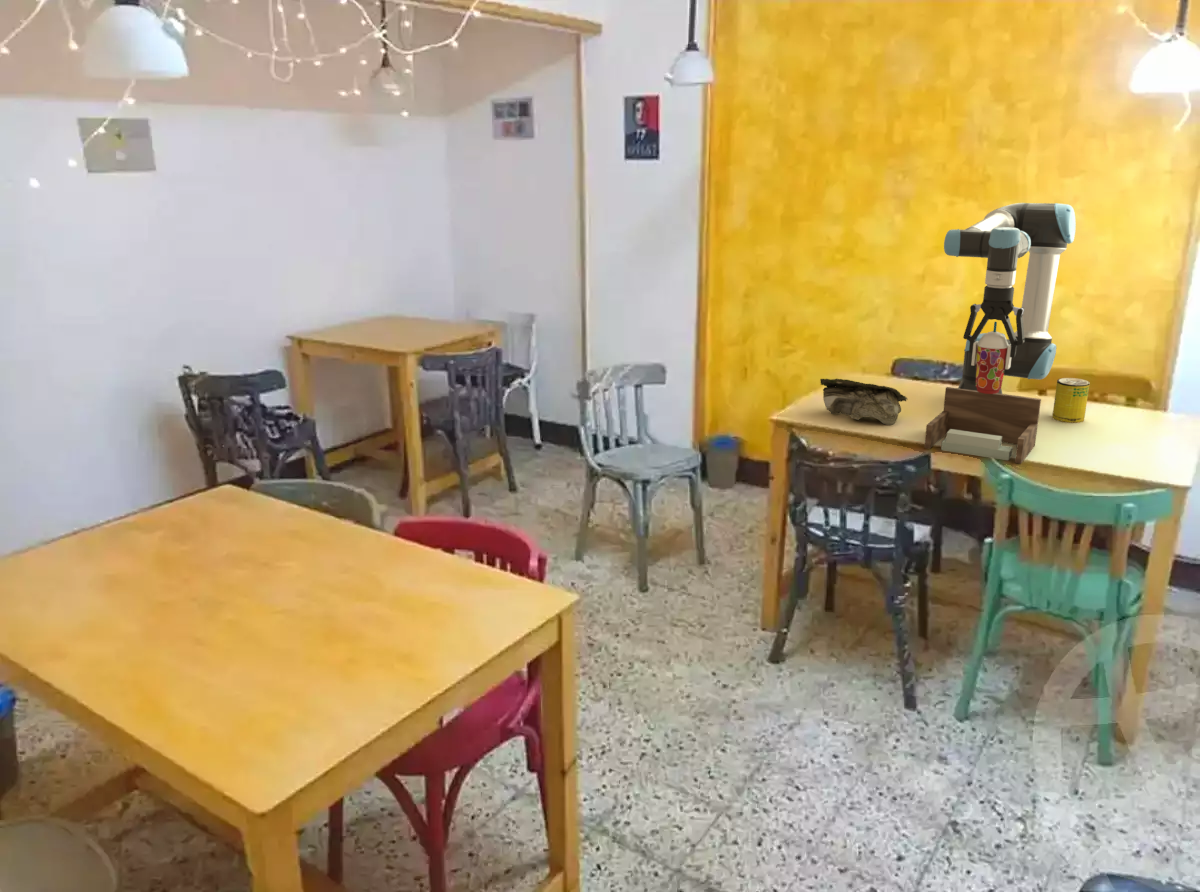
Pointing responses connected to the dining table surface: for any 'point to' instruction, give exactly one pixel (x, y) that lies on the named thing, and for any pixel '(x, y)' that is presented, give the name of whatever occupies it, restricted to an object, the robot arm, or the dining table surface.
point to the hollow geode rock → (862, 400)
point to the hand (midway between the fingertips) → (990, 366)
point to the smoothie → (991, 361)
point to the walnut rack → (988, 418)
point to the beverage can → (1070, 400)
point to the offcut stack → (976, 444)
